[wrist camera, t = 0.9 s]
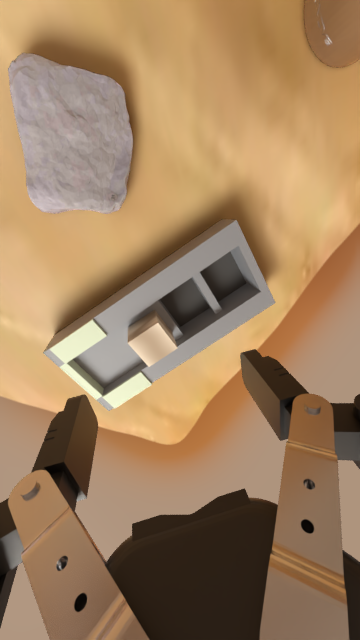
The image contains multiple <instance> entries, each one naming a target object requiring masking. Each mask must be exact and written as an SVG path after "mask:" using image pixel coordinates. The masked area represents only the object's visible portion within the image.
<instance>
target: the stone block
mask: <svg viewBox="0 0 360 640" xmlns="http://www.w3.org/2000/svg"><path fill="white" fill-rule="evenodd" d="M8 71H9V81H10V92H11V97H12V102H13V107H14V113H15V119H16V123H17V128H18V132H19V136H20V139H21V143H22V148H23V153H24V158H25V167H26V185H27V190H28V195H29V197H30V199H31V201H32V202H33V204H34V205H35V206H36V207H37V208H39V209H40V210H41V211H42V212H47V213H61V212H64V211H69V210H92V211H96V212H100V213H105V214H108V213H111V212H114V211H117V210H119V209H120V208H121V206H122V204H123V202H124V200H125V198H126V195H127V181H128V175H129V172H130V164H131V159H132V148H133V135H132V131H131V126H130V123H129V114H128V112H127V108H126V100H125V92H124V90H123V89H122V87H121V86H120V85H119V84H118V83H117V82H116V81H115V80H114V79H112V78H110V77H109V76H105V75H101V74H96V73H94V72H90V71H88V70H85V69H81V68H77V67H72V66H65V65H60V64H58V63H56V62H54V61H51V60H48V59H46V58H44V57H42V56H39V55H36V54H31V53H22V54H21V55H19V56H17V58H16V59H15V60H14V61H12V62H11V64H10V66H9V68H8Z"/></svg>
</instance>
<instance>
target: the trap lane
mask: <svg viewBox="0 0 360 640" xmlns="http://www.w3.org/2000/svg"><path fill="white" fill-rule="evenodd" d="M274 303H275V301H274V299H273V297H272V294H271V292H270V290H269V288H268V286H267V284H266V282H265V280H264V277H263V275H262V273H261V271H260V269H259V267H258V265H257V262H256V260H255V258H254V256H253V254H252V252H251V250H250V248H249V245H248V243H247V241H246V239H245V237H244V235H243V233H242V231H241V228H240V226H239V224H238V222H237V220H230V219H221V220H220V221H219V222H217V223H216V224H214V225H213V226H211V227H210V228H208V229H207V230H206V231H204V232H203V233H201V234H200V235H198V236H197V237H195V238H194V239H193V240H191V241H190V242H188V243H187V244H185V245H184V246H182V247H181V248H180V249H178V250H177V251H175V252H174V253H172V254H171V255H169V256H168V257H167V258H165V259H164V260H162V261H161V262H159V263H158V264H156V265H155V266H154V267H152V268H151V269H149V270H148V271H146V272H145V273H143V274H142V275H141V276H139V277H138V278H136V279H135V280H133V281H132V282H130V283H129V284H128V285H126V286H125V287H123V288H122V289H120V290H119V291H117V292H116V293H114V294H113V295H112V296H110V297H109V298H107V299H106V300H104V301H103V302H101V303H100V304H99V305H97V306H96V307H94V308H93V309H91V310H90V311H88V312H87V313H86V314H84V315H83V316H81V317H80V318H78V319H77V320H75V321H74V322H73V323H71V324H70V325H68V326H67V327H65V328H64V329H62V330H61V331H60V332H58V333H57V334H55V335H54V336H53V338H52V340H51V341H50V343H49V344H48V346H47V347H46V349H45V351H44V352H43V353H44V354H45V355H46V356H47V357H48V358H49V359H51V360H52V361H53V362H54V363H55V364H56V365H57V366H59V367H60V368H61V369H62V370H63V371H64V372H65V373H66V374H68V375H69V376H70V377H71V378H72V379H73V380H74V381H75V382H77V383H78V384H79V385H80V386H81V387H82V388H83V389H85V390H86V391H87V392H88V393H89V394H90V395H91V396H92V397H94V398H95V399H96V400H97V401H98V402H99V403H100V404H101V405H103V406H104V407H105V408H106V409H107V410H108V411H110V410H111V409H113V408H117V407H118V406H120V405H121V404H123V403H124V402H126V401H127V400H129V399H131V398H132V397H134V396H135V395H137V394H138V393H140V392H141V391H143V390H144V389H146V388H147V387H149V386H151V385H152V383H153V382H154V381H156V380H157V379H159V378H160V377H162V376H164V375H165V374H167V373H168V372H170V371H171V370H173V369H174V368H176V367H177V366H179V365H180V364H182V363H184V362H185V361H187V360H188V359H190V358H191V357H193V356H194V355H196V354H197V353H199V352H200V351H202V350H204V349H205V348H207V347H208V346H210V345H211V344H213V343H214V342H216V341H217V340H219V339H220V338H222V337H224V336H225V335H227V334H228V333H230V332H231V331H233V330H234V329H236V328H237V327H239V326H240V325H242V324H244V323H245V322H247V321H248V320H250V319H251V318H253V317H254V316H256V315H257V314H259V313H260V312H262V311H264V310H265V309H267V308H268V307H270V306H271V305H273V304H274ZM153 310H155V311H156V312H157V313H158V315H159V316H160V317H161V319H162V320H163V321H164V323H165V324H166V325H167V327H168V328H169V329H170V330H171V332H172V333H173V336H174V339H175V342H176V345H177V349H176V350H174V351H173V352H171V353H170V354H168V355H167V356H165V357H164V358H162V359H161V360H159V361H158V362H156V363H155V364H153V365H151V366H150V367H148V365H147V364H146V363H145V362H144V361H143V360H142V359H141V358H140V356H139V355H138V354H137V353H136V352H135V351H134V350H133V349H132V347H131V346H130V345H129V344H128V327H130V326H131V325H133V324H134V323H135V322H137V321H138V320H140V319H141V318H143V317H144V316H146V315H147V314H149V313H150V312H152V311H153Z"/></svg>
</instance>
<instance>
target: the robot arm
mask: <svg viewBox="0 0 360 640" xmlns="http://www.w3.org/2000/svg"><path fill="white" fill-rule="evenodd" d="M304 23H305V29H306V35H307V38H308V41H309V44H310V47H311V48H312V50H313V52H314V53H315V55H316V56H317V57H318V58H319V59H320V60H321V61H322V62H323V63H325V64H327V65H328V66H332V67H337V68H338V67H346V66H348V65H350V64H353V63H355V62H356V61H358V60H359V59H360V0H305V5H304ZM240 357H241V367H242V377H243V381H244V384H245V386H246V388H247V390H248V391H249V393H250V395H251V396H252V398H253V399H254V401H255V402H256V404H257V405H258V407H259V409H260V410H261V411H262V413H263V415H264V416H265V418H266V419H267V421H268V422H269V424H270V425H271V427H272V429H273V430H274V432H275V433H276V435H277V436H278V438H279V440H285V439H288V441H287V442H286V449H285V456H284V464H283V471H282V479H281V486H280V494H279V501H278V505H277V504H275V503H272V502H270V501H267V500H263V499H259V498H248V495H247V493H246V490H245V489H242V490H239V491H235V492H232V493H229V494H226V495H223V496H219V497H217V498H216V499H214V500H213V501H211V502H210V503H208V504H207V505H205V506H204V507H202V508H201V509H199V510H198V511H196V512H195V513H193V514H190V515H159V516H156V517H153V518H150V519H146V520H143V521H140V522H137V523H133V524H132V536H130V537H129V538H128V539H127V540H125V541H124V542H123V543H122V544H121V545H120V546H119V547H118V548H117V549H116V550H115V551H114V553H113V554H112V555H111V556H110V558H109V559H108V561H106V560H105V559H104V557H103V555H102V554H101V552H100V551H99V549H98V548H97V546H96V544H95V543H94V541H93V539H92V538H91V537H90V535H89V533H88V531H87V530H86V528H85V527H84V525H83V523H82V522H81V520H80V519H79V517H78V515H77V514H76V512H75V507H76V502H77V501H79V500H83V499H86V498H87V493H88V487H89V481H90V474H91V468H92V462H93V455H94V450H95V444H96V438H97V431H98V422H97V418H96V415H95V413H94V411H93V409H92V407H91V405H90V402H89V400H88V398H87V396H86V395H80V396H76V397H73V398H69V399H68V400H67V402H66V405H65V408H64V411H61V412H59V413H58V414H57V415H56V417H55V418H54V419H53V420H52V421H51V424H50V426H49V429H48V431H47V432H48V433H47V434H46V436H45V439H44V442H43V444H42V447H41V449H40V452H39V454H38V457H37V459H36V462H35V464H34V467H33V470H32V472H31V473H30V474H28V475H27V476H26V477H24V478H23V479H22V480H21V481H20V482H19V483H18V484H17V485H16V486H15V487H14V489H13V490H12V492H11V494H10V496H9V498H8V499H6V500H5V501H3V502H1V503H0V627H1V623H2V620H3V616H4V613H5V609H6V606H7V602H8V599H9V595H10V592H11V588H12V584H13V581H14V577H15V574H16V570H17V567H18V565H19V564H20V563H22V562H23V564H24V567H25V570H26V573H27V575H28V578H29V581H30V584H31V587H32V590H33V593H34V596H35V599H36V601H37V604H38V607H39V610H40V613H41V615H42V619H43V622H44V624H45V627H46V630H47V633H48V636H49V639H50V640H360V562H359V561H357V560H356V559H355V558H353V557H352V556H351V555H349V554H348V553H346V552H345V551H344V550H342V534H341V517H340V498H339V479H338V461H337V460H353V461H354V463H355V464H356V465H357V466H358V468H359V469H360V394H359V395H357V396H356V397H355V399H354V403H339V404H336V403H329V402H328V401H327V400H326V399H324V398H323V397H321V396H318V395H315V394H309V393H308V392H307V391H306V390H305V389H304V388H303V387H302V385H300V384H299V382H298V381H296V379H295V378H294V377H293V376H292V375H291V374H289V372H288V371H287V370H286V369H285V368H284V367H283V366H282V365H281V364H280V363H279V362H278V361H277V360H275V359H273V358H271V357H269V356H267V357H262V356H261V355H260V353H258V352H257V350H256V349H254V350H250V351H246V352H243V353H241V355H240Z"/></svg>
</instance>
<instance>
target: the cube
mask: <svg viewBox="0 0 360 640" xmlns="http://www.w3.org/2000/svg"><path fill="white" fill-rule="evenodd" d="M128 344H129V345H130V346H131V347H132V349H133V350H134V351H135V352H136V353H137V354H138V355H139V356H140V358H141V359H142V360H143V361H144V362H145V363H146V364H147V365H148V367H150V366H151V365H153V364H155V363H156V362H158V361H159V360H161V359H162V358H164V357H165V356H167V355H168V354H170V353H171V352H173V351H174V350H176V349H177V345H176V342H175V339H174V336H173V333H172V332H171V330H170V329H169V328H168V327H167V325H166V324H165V323H164V321H163V320H162V319H161V317H160V316H159V315H158V313H157V312H156V311H155V310H153V311H152V312H150V313H149V314H147V315H146V316H144V317H143V318H141V319H140V320H138V321H137V322H135V323H134V324H133V325H131V326H130V327H128Z"/></svg>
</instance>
